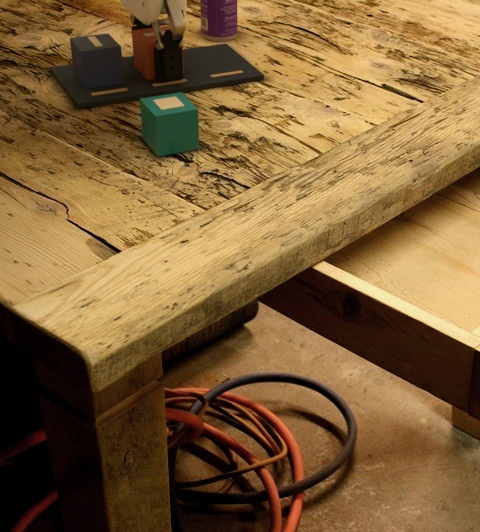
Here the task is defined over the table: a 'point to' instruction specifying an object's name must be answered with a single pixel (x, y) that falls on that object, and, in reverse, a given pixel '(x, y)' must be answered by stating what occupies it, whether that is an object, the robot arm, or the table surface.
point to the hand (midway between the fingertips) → (158, 67)
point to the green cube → (169, 124)
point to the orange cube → (145, 51)
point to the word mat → (137, 86)
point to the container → (218, 19)
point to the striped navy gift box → (97, 61)
